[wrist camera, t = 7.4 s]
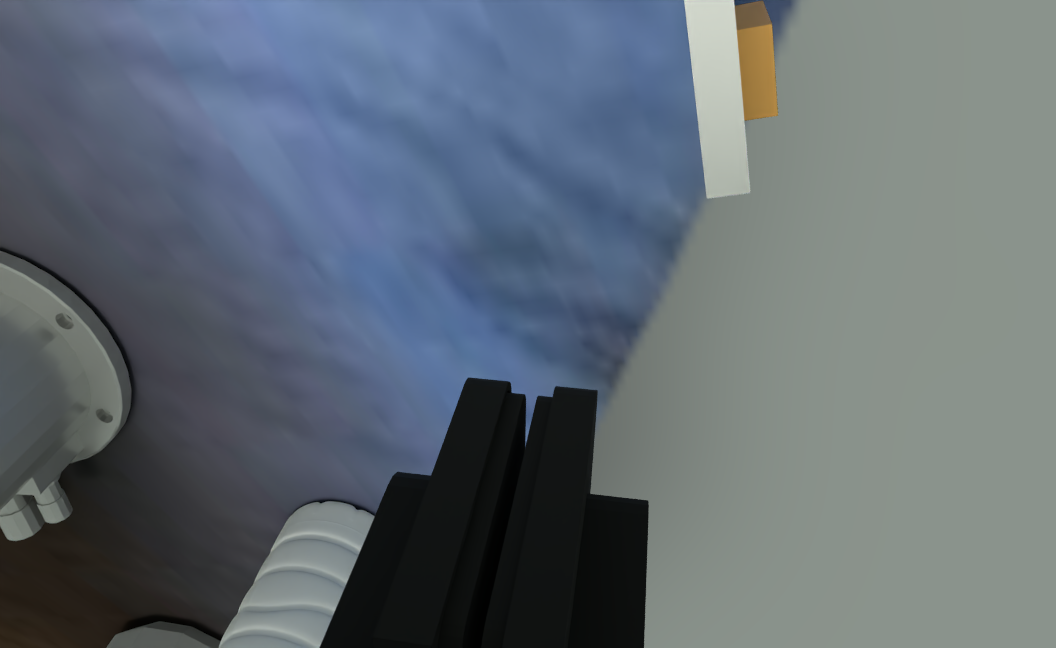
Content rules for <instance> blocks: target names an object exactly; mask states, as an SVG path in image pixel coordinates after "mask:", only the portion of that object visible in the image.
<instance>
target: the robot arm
mask: <svg viewBox="0 0 1056 648" xmlns="http://www.w3.org/2000/svg"><path fill="white" fill-rule="evenodd" d="M597 394H598V391H597V390H588V389H578V388H568V387H558V386H556V387H555V389H554V394H553V397H545V396H538V397H537V400H536V404H535V408H534V413H533V417H532V421H531V426H530V430H529V434H528V439H527V443H526V447H525V427H526V396H525V394H515V393H511V383H510V382H508V381H498V380H488V379H478V378H468V379H467V380H466V382H465V384H464V387H463V390H462V392H461V395H460V398H459V401H458V403H457V406H456V409H455V412H454V414H453V417H452V420H451V423H450V425H449V428H448V431H447V434H446V437H445V439H444V442H443V445H442V448H441V450H440V453H439V456H438V459H437V461H436V464H435V467H434V470H433V472H432V475H431V476H428V475H420V474H411V473H402V472H397V473H396V474H394V475H393V477H392V479H391V480H390V482H389V484H388V486H387V489H386V491H385V493H384V496H383V498H382V501H381V503H380V505H379V508H378V510H377V512H376V515H375V517H374V520H373V522H372V524H371V527H370V529H369V531H368V534H367V536H366V538H365V541H364V543H363V546H362V548H361V550H360V553H359V555H358V557H357V560H356V562H355V565H354V567H353V569H352V572H351V574H350V576H349V579H348V581H347V583H346V586H345V588H344V591H343V593H342V595H341V598H340V600H339V602H338V605H337V607H336V610H335V612H334V614H333V617H332V619H331V621H330V624H329V626H328V628H327V631H326V633H325V636H324V638H323V640H322V643H321V645H320V647H319V648H644V629H645V627H644V626H645V599H646V598H645V597H646V569H647V540H648V507H649V505H648V501H647V500H638V499H629V498H621V497H612V496H603V495H595V494H590V489H591V476H592V463H593V449H594V436H595V422H596V409H597ZM130 408H131V385H130V379H129V374H128V370H127V367H126V365H125V362H124V359H123V357H122V354H121V352H120V350H119V348H118V346H117V345H116V343H115V341H114V339H113V338H112V336H111V334H110V333H109V331H108V329H107V328H106V327H105V326H104V324H103V323H102V322H101V321H100V319H99V318H98V317H97V316H96V314H95V313H94V312H93V311H92V309H91V308H90V307H89V306H87V305H86V304H85V303H84V302H83V301H82V300H81V299H80V298H79V297H78V296H77V295H76V294H75V293H74V292H73V291H72V290H70V289H69V288H68V287H66V286H65V285H64V284H62V283H61V282H59V281H58V280H57V279H55V278H54V277H53V276H51V275H50V274H48V273H47V272H45V271H43V270H41V269H39V268H38V267H36V266H34V265H32V264H30V263H29V262H27V261H25V260H23V259H20V258H18V257H15V256H13V255H10V254H8V253H5V252H3V251H0V527H1V529H2V531H3V533H4V535H5V536H6V538H7V539H8V540H12V541H18V540H23V539H26V538H28V537H30V536H32V535H34V534H35V533H36V532H38V531H39V530H40V529H41V528H42V526H43V524H44V523H45V522H47V523H50V524H51V523H58V522H60V521H62V520H65V519H66V518H67V517H68V516H70V515H71V513H72V511H73V509H72V506H71V504H70V502H69V500H68V498H67V496H66V494H65V492H64V489H62V488H61V487H60V484H59V482H58V480H59V478H60V475H61V472H62V471H63V470H64V469H65V468H66V467H67V466H68V464H69V463H73V462H77V461H80V460H84V459H87V458H89V457H91V456H93V455H95V454H96V453H98V452H100V451H102V450H103V449H104V448H105V447H106V446H107V445H108V443H109V442H110V441H111V440H112V439H113V438H114V437H115V436H116V435H117V434H118V432H119V431H120V430H121V428H122V427H123V426H124V424H125V423H126V420H127V417H128V414H129V411H130ZM32 495H34V497H35V499H36V500H34V498H33V496H32ZM35 501H36V502H35ZM44 520H45V522H44Z"/></svg>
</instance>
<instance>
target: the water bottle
mask: <svg viewBox="0 0 1056 648" xmlns="http://www.w3.org/2000/svg"><path fill="white" fill-rule="evenodd" d="M374 517H375V516H373V515H372V514H370V513H368V512H366V511H364V510H356V508H355V507H354V506H352V505H350V504H346V503H341V502H335V501H327V502H324V503H322V504H321V503H319V502H314V503H310V504H307V505H305V506H302V507H301V508H299V509H298V510H296V511H295V512H294V513H293V514H292V515H291V516H290V517H289V518H288V520H287V521H286V523H285V525H284V527H283V528H282V530H281V532H280V534H279V536H278V537H277V539H276V541H275V543H274V545H273V547H272V549H271V552H270V554H269V556H268V557H267V559H266V560H265V562H264V563H263V565H262V567H261V568H260V570H259V572H258V574H257V576H256V578H255V581H254V584H253V585H252V587H251V588H250V589H249V591H248V592H247V594H246V595H245V597H244V599H243V601H242V603H241V605H240V607H239V610H238V614H237V615H236V616H235V617H234V618H233V620H232V621H231V623H230V624H229V626H228V628H227V630H226V631H225V633H224V635H223V637H222V640H221V642H220V645H219V648H319V647H320V645H321V643H322V640H323V638H324V636H325V633H326V631H327V628H328V626H329V624H330V621H331V619H332V617H333V614H334V612H335V610H336V607H337V605H338V602H339V600H340V598H341V595H342V593H343V591H344V588H345V586H346V583H347V581H348V579H349V576H350V574H351V572H352V569H353V567H354V565H355V562H356V560H357V557H358V555H359V553H360V550H361V548H362V546H363V543H364V541H365V538H366V536H367V534H368V531H369V529H370V527H371V524H372V522H373V520H374Z"/></svg>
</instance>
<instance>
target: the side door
mask: <svg viewBox="0 0 1056 648" xmlns="http://www.w3.org/2000/svg"><path fill="white" fill-rule="evenodd" d="M684 2H685V11H686V20H687V29H688V38H689V46H690V55H691V64H692V73H693V81H694V90H695V99H696V108H697V116H698V125H699V134H700V143H701V151H702V160H703V169H704V178H705V186H706V195H707V199H709V198H716V197H724V196H732V195H739V194H747V193H750V192H751V191H750V181H749V168H748V157H747V145H746V133H745V122H744V121H746V120H753V119H759V118H765V117H772V116H778V107H777V92H776V76H775V61H774V46H773V31H772V22H771V20H770V17H769V15H768V12H767V10H766V7H765V5H764V2H763V1H757V2H752V3H747V4H741V5H736V6H735V5H734V0H684Z"/></svg>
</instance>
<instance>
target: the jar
mask: <svg viewBox="0 0 1056 648" xmlns="http://www.w3.org/2000/svg"><path fill="white" fill-rule="evenodd" d="M220 642H221V641H219V640H217V639H215V638H213V637H211V636H209V635H207V634H205V633H203V632H201V631H199V630H197V629H195V628H193V627H192V626H186V625H180V624H174V623H168V622H162V621H158V622H155V623H151V624H147V625H144V626H140V627H137V628H134V629H131V630H128V631H125V632H122V633H119V634H116V635H115V636H114V637H113V639H112V640H111V642H110V643H109V645H108V646H107V648H219V645H220Z"/></svg>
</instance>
